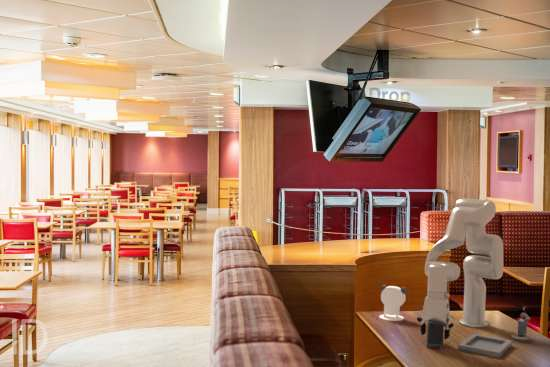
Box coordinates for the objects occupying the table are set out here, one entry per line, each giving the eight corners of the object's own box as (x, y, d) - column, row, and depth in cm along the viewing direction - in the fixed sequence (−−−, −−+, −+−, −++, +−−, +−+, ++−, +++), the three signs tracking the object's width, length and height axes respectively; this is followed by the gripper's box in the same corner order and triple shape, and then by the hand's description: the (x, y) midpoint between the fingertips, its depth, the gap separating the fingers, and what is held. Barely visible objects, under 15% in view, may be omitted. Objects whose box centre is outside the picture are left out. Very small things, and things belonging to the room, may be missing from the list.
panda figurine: (407, 316, 314) (408, 285, 313) (402, 322, 303) (404, 290, 302) (382, 313, 318) (383, 282, 317) (377, 319, 307) (378, 287, 306)
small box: (443, 349, 264) (444, 323, 263) (426, 348, 265) (427, 322, 264) (442, 342, 274) (443, 317, 273) (425, 340, 275) (427, 315, 275)
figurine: (534, 339, 281) (535, 311, 281) (529, 344, 274) (530, 315, 274) (514, 335, 286) (515, 308, 286) (508, 340, 279) (509, 312, 279)
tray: (473, 338, 280) (473, 333, 280) (511, 346, 271) (512, 340, 271) (457, 350, 263) (458, 344, 263) (498, 358, 254) (499, 352, 254)
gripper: (460, 296, 266) (458, 338, 267) (419, 290, 276) (417, 330, 277) (454, 299, 260) (452, 342, 261) (412, 293, 270) (411, 334, 271)
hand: (434, 336), depth 269 cm, fingers open, 9 cm apart
